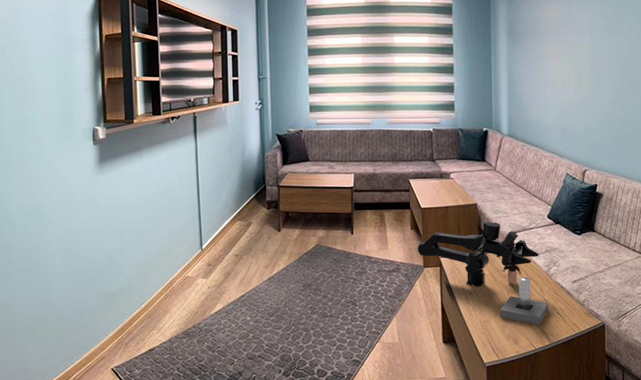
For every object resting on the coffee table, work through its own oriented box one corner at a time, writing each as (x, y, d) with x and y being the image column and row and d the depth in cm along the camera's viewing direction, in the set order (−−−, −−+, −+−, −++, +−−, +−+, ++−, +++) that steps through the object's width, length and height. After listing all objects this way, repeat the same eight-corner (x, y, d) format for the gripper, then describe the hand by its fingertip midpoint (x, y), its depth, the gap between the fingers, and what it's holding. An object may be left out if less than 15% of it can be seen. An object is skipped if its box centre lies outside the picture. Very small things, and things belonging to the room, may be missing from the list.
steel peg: (517, 314, 197) (518, 280, 194) (520, 310, 200) (520, 276, 197) (528, 316, 194) (529, 282, 192) (530, 312, 198) (531, 278, 195)
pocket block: (500, 316, 196) (500, 309, 195) (510, 303, 207) (510, 296, 206) (539, 325, 188) (539, 317, 187) (547, 310, 199) (548, 303, 198)
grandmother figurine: (520, 282, 226) (521, 255, 223) (521, 286, 222) (521, 258, 220) (502, 281, 228) (502, 254, 226) (502, 285, 225) (502, 257, 222)
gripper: (490, 236, 210) (529, 246, 200) (507, 225, 224) (544, 233, 214) (487, 261, 213) (525, 272, 203) (504, 249, 227) (541, 258, 217)
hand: (534, 258), depth 209 cm, fingers open, 9 cm apart
